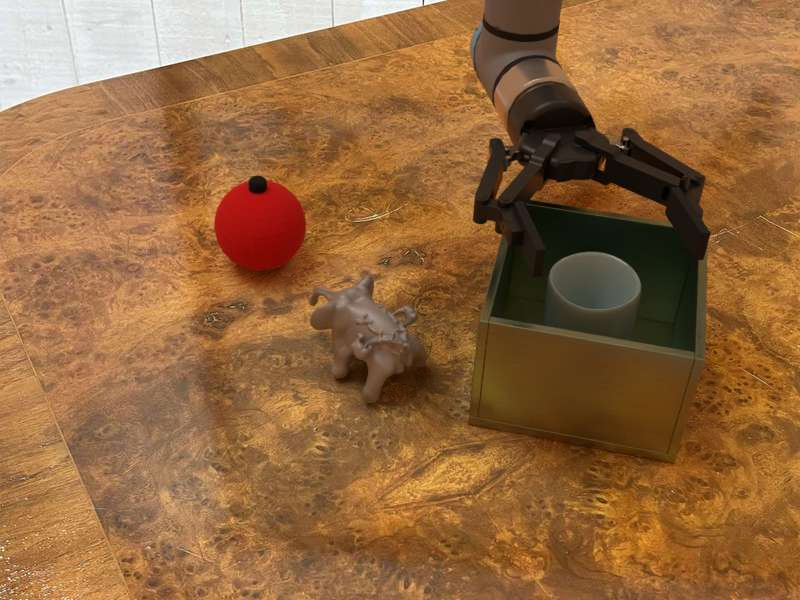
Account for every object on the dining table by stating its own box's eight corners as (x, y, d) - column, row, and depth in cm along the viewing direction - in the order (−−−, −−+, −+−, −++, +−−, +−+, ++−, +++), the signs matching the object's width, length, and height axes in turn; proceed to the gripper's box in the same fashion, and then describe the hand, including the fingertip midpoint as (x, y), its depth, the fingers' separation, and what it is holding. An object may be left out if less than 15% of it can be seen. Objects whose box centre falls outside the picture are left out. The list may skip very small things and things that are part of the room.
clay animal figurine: (395, 418, 92) (397, 353, 87) (273, 375, 96) (269, 311, 91) (436, 352, 99) (441, 288, 94) (321, 314, 102) (319, 251, 97)
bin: (680, 327, 102) (708, 227, 95) (674, 463, 89) (705, 360, 82) (499, 296, 105) (511, 196, 97) (467, 424, 92) (478, 320, 84)
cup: (567, 406, 93) (579, 321, 86) (523, 349, 98) (531, 265, 91) (642, 379, 95) (660, 295, 88) (595, 325, 100) (609, 241, 94)
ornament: (258, 223, 113) (253, 143, 106) (325, 256, 109) (323, 174, 103) (199, 265, 107) (189, 183, 101) (267, 301, 103) (261, 218, 97)
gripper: (661, 140, 104) (757, 276, 89) (412, 161, 100) (465, 307, 85) (677, 71, 100) (780, 202, 84) (415, 90, 96) (472, 231, 80)
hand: (622, 255), depth 84 cm, fingers open, 13 cm apart
